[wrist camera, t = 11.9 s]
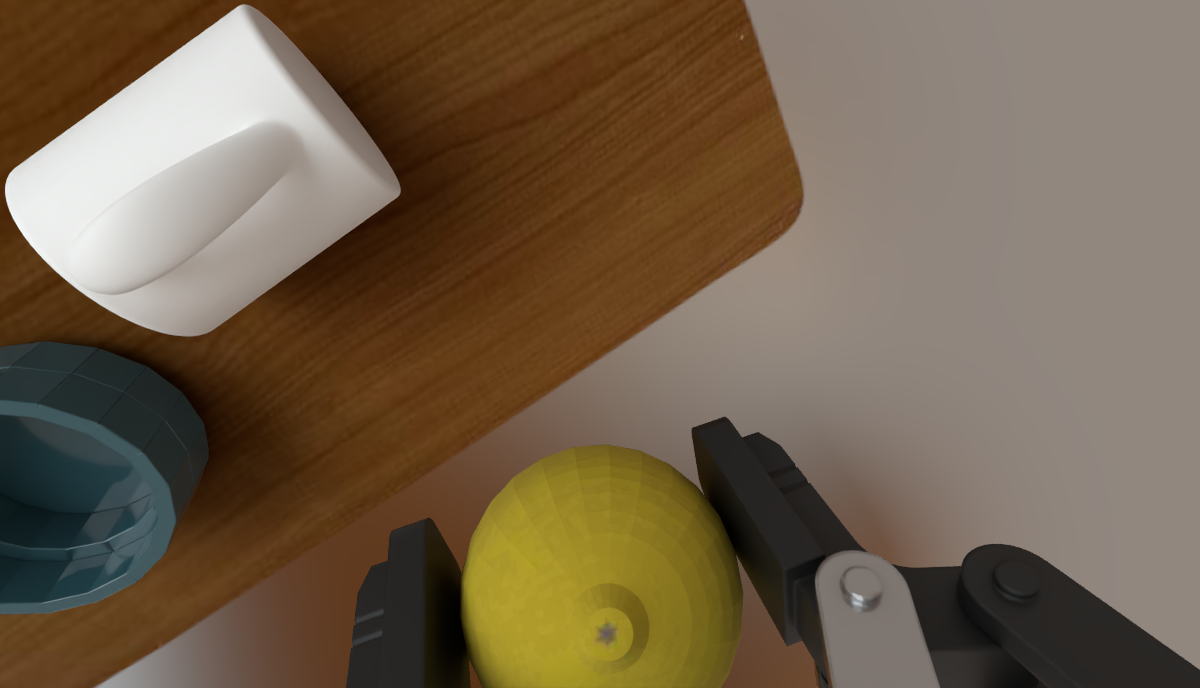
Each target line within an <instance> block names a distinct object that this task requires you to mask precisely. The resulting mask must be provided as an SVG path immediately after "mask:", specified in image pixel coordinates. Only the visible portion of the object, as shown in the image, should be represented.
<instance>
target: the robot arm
mask: <svg viewBox="0 0 1200 688" xmlns="http://www.w3.org/2000/svg"><path fill="white" fill-rule="evenodd" d="M692 438H693V444H694V451H695V457H696V464H697V469H698V476H699V481H700V484H701V487H702V490H703V493H704V495H705V497H706V499H707V500H708V501H709V503H710V504H711V505H712V506H713V508H714V509H715V510H716V512H717V513H718V514H719V516H720V518H721V520H722V522H723V525H724V527H725V529H726V532H727V534H728V536H729V538H730V541H731V543H732V545H733V548H734V550H735V552H736V555H737V557H738V559H739V560H740V562H741V564H742V566H743V567H744V569H745V571H746V573H747V575H748V577H749V578H750V580H751V582H752V584H753V586H754V588H755V589H756V591H757V593H758V595H759V596H760V598H761V600H762V602H763V604H764V606H765V607H766V609H767V611H768V613H769V615H770V616H771V618H772V620H773V622H774V624H775V625H776V627H777V629H778V631H779V632H780V635H781V636H782V638H783V640H784V642H785V644H786V645H787V646H789V645H792V644H794V643H797V642H800V641H802V640H803V642H804V644H805V646H806V647H807V649H808V651H809V652H810V654H811V656H812V658H813V659H814V666H815V676H816V682H817V688H1200V670H1199V669H1198V668H1196V667H1195V666H1194V665H1192V664H1191V663H1189V662H1188V661H1187V660H1185V659H1184V658H1182V657H1181V656H1179V655H1178V654H1177V653H1175V652H1174V651H1172V650H1171V649H1170V648H1168V647H1167V646H1165V645H1164V644H1162V643H1161V642H1160V641H1158V640H1157V639H1155V638H1154V637H1153V636H1151V635H1150V634H1148V633H1147V632H1146V631H1144V630H1143V629H1141V628H1140V627H1139V626H1137V625H1136V624H1134V623H1133V622H1131V621H1130V620H1129V619H1127V618H1126V617H1125V616H1123V615H1122V614H1120V613H1119V612H1117V611H1116V610H1115V609H1113V608H1112V607H1110V606H1109V605H1108V604H1106V603H1105V602H1103V601H1102V600H1100V599H1099V598H1098V597H1096V596H1095V595H1093V594H1092V593H1091V592H1089V591H1088V590H1086V589H1085V588H1084V587H1082V586H1081V585H1079V584H1078V583H1076V582H1075V581H1074V580H1072V579H1071V578H1069V577H1068V576H1067V575H1065V574H1064V573H1063V572H1061V571H1060V570H1058V569H1057V568H1055V567H1054V566H1052V565H1051V564H1050V563H1048V562H1047V561H1045V560H1044V559H1042V558H1041V557H1039V556H1037V555H1035V554H1033V553H1031V552H1029V551H1027V550H1024V549H1022V548H1019V547H1015V546H1011V545H1004V544H989V545H983V546H980V547H977V548H975V549H974V550H972V551H970V552H969V553H968V554H967V555H966V557H965V558H964V560H963V563H962V566H954V567H930V568H929V567H928V568H908V567H902V566H897V565H893V564H890V563H889V562H887V561H886V560H884V559H882V558H880V557H878V556H876V555H874V554H871V553H868V552H867V551H866V550H865V549H863V548H862V547H861V546H860V545H859V544H858V543H857V542H856V541H855V540H854V538H853V537H852V536H851V534H850V533H849V532H848V531H847V529H846V528H845V527H844V526H843V524H842V523H841V522H840V520H839V519H838V518H837V517H836V515H835V514H834V513H833V512H832V510H831V509H830V508H829V507H828V505H827V504H826V503H825V501H824V500H823V499H822V498H821V496H820V495H819V494H818V493H817V491H816V490H815V489H814V488H813V486H812V485H811V484H810V483H808V482H807V479H806V477H805V476H804V475H803V474H802V472H801V471H800V470H799V469H798V468H796V466H795V463H794V462H793V461H792V460H791V459H790V457H789V456H788V455H787V453H786V452H785V451H784V450H783V448H782V447H781V446H780V445H779V444H777V443H776V442H774V441H772V440H770V439H769V438H767V437H765V436H764V435H762V434H760V433H759V432H757V433H754V434H751V435H748V436H746V437H741V436H740V434H739V433H738V431H737V430H736V428H735V427H734V426H733V424H732V423H731V422H730V420H729V419H727V418H726V417H722V418H719V419H717V420H714V421H711V422H708V423H705V424H702V425H699V426H697V427H693V428H692ZM460 598H461V571H460V568H459V566H458V563H457V561H456V559H455V558H454V556H453V554H452V552H451V551H450V549H449V547H448V546H447V544H446V542H445V540H444V539H443V537H442V535H441V533H440V532H439V530H438V528H437V526H436V525H435V523H434V521H433V520H432V519H431V518H427V519H424V520H421V521H418V522H415V523H412V524H409V525H406V526H404V527H401V528H398V529H395V530H393V531H392V532H391V534H390V539H389V550H388V561H385V562H382V563H380V564H377V565H374V566H372V567H371V568H370V570H369V572H368V574H367V576H366V578H365V580H364V582H363V584H362V586H361V588H360V590H359V592H358V598H357V605H356V613H355V623H356V625H354V629H353V637H352V644H353V648H351V653H350V661H349V670H348V677H347V685H346V688H470V671H469V658H468V653H467V648H466V643H465V638H464V634H463V629H462V624H461V619H460Z"/></svg>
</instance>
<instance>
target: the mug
mask: <svg viewBox="0 0 1200 688" xmlns="http://www.w3.org/2000/svg"><path fill="white" fill-rule="evenodd" d="M400 192H401V189H400V184H399V182H398V179H397V177H396V175H395V174H394V172H393V170H392V168H391V167H390V165H389V163H388V162H387V160H386V159H385V157H384V156H383V154H382V153H381V151H380V150H379V148H378V147H377V145H376V144H375V143H374V141H373V140H372V138H371V137H370V136H369V134H368V133H367V131H366V130H365V129H364V127H363V126H362V125H361V123H360V122H359V121H358V119H357V118H356V117H355V116H354V114H353V113H352V112H351V110H350V109H349V108H348V107H347V105H346V104H345V103H344V102H343V100H342V99H341V98H340V97H339V95H338V94H337V93H336V92H335V91H334V89H333V88H332V87H331V86H330V84H329V83H328V82H327V81H326V80H325V79H324V77H323V76H322V75H321V74H320V73H319V72H318V70H317V69H316V68H315V67H314V66H313V65H312V63H311V62H310V61H309V60H308V59H307V58H306V57H305V56H304V54H303V53H302V52H301V51H300V50H299V49H298V48H297V47H296V46H295V45H294V44H293V43H292V42H291V40H290V39H289V38H288V37H287V36H286V35H285V34H284V33H283V32H282V31H281V30H280V29H279V28H278V27H277V26H276V25H275V24H274V23H272V22H271V21H270V20H269V19H268V18H267V17H266V16H265V15H263V14H262V13H261V12H259V11H258V10H257V9H255V8H253V7H251V6H249V5H240V6H238V7H237V8H236V9H234V10H233V11H231V12H230V13H229V14H227V15H226V16H224V17H223V18H222V19H220V20H219V21H218V22H216V23H215V24H213V25H212V26H211V27H209V28H208V29H207V30H205V31H204V32H202V33H201V34H200V35H198V36H197V37H195V38H194V39H193V40H191V41H190V42H189V43H187V44H186V45H184V46H183V47H182V48H180V49H179V50H177V51H176V52H175V53H173V54H172V55H171V56H169V57H168V58H166V59H165V60H164V61H162V62H161V63H160V64H158V65H157V66H155V67H154V68H153V69H151V70H150V71H148V72H147V73H146V74H144V75H143V76H142V77H140V78H139V79H137V80H136V81H135V82H133V83H132V84H131V85H129V86H128V87H126V88H125V89H124V90H122V91H121V92H119V93H118V94H117V95H115V96H114V97H113V98H111V99H110V100H108V101H107V102H106V103H104V104H103V105H102V106H100V107H99V108H97V109H96V110H95V111H93V112H92V113H90V114H89V115H88V116H86V117H85V118H84V119H82V120H81V121H79V122H78V123H77V124H75V125H74V126H72V127H71V128H70V129H68V130H67V131H66V132H64V133H63V134H61V135H60V136H59V137H57V138H56V139H55V140H53V141H52V142H50V143H49V144H48V145H46V146H45V147H43V148H42V149H41V150H39V151H38V152H37V153H35V154H34V155H32V156H31V157H30V158H28V159H27V160H26V161H24V162H23V163H21V164H20V165H19V166H17V167H16V168H14V169H13V171H12V172H11V173H10V174H9V176H8V178H7V181H6V186H5V194H6V200H7V204H8V207H9V210H10V212H11V215H12V217H13V219H14V221H15V222H16V224H17V226H18V228H19V229H20V231H21V232H22V234H23V235H24V237H25V238H26V239H27V241H28V242H29V243H30V245H31V246H32V247H33V248H34V249H35V250H36V252H37V253H38V254H39V255H40V256H41V257H42V258H43V259H44V260H45V261H46V262H47V263H48V264H49V265H50V266H51V267H52V268H53V269H54V270H55V271H56V272H57V273H58V274H60V275H61V276H62V277H63V278H64V279H65V280H66V281H68V282H69V283H70V284H71V285H73V286H74V287H75V288H77V289H78V290H79V291H81V292H82V293H83V294H85V295H86V296H88V297H89V298H91V299H92V300H94V301H95V302H97V303H98V304H100V305H101V306H103V307H105V308H106V309H108V310H110V311H112V312H113V313H115V314H117V315H119V316H121V317H123V318H125V319H127V320H129V321H131V322H133V323H136V324H138V325H140V326H143V327H146V328H148V329H151V330H155V331H158V332H162V333H166V334H170V335H176V336H198V335H202V334H206V333H208V332H210V331H212V330H214V329H215V328H216V327H218V326H219V325H221V324H222V323H223V322H225V321H226V320H228V319H229V318H230V317H232V316H233V315H234V314H236V313H237V312H239V311H240V310H241V309H243V308H244V307H246V306H247V305H248V304H250V303H251V302H253V301H254V300H255V299H257V298H258V297H259V296H261V295H262V294H264V293H265V292H266V291H268V290H269V289H271V288H272V287H273V286H275V285H276V284H278V283H279V282H280V281H282V280H283V279H284V278H286V277H287V276H289V275H290V274H291V273H293V272H294V271H296V270H297V269H298V268H300V267H301V266H303V265H304V264H305V263H307V262H308V261H309V260H311V259H312V258H314V257H315V256H316V255H318V254H319V253H321V252H322V251H323V250H325V249H326V248H328V247H329V246H330V245H332V244H333V243H334V242H336V241H337V240H339V239H340V238H341V237H343V236H344V235H346V234H347V233H348V232H350V231H351V230H353V229H354V228H355V227H357V226H358V225H359V224H361V223H362V222H364V221H365V220H366V219H368V218H369V217H371V216H372V215H373V214H375V213H376V212H378V211H379V210H380V209H382V208H383V207H384V206H386V205H387V204H389V203H390V202H391V201H393V200H394V199H396V198H397V197H398V196H399V195H400Z"/></svg>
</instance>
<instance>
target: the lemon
mask: <svg viewBox="0 0 1200 688" xmlns="http://www.w3.org/2000/svg"><path fill="white" fill-rule="evenodd" d="M742 606H743V590H742V584H741V579H740V574H739V568H738V563H737V558H736V552H735V550H734V548H733V545H732V543H731V541H730V538H729V536H728V534H727V532H726V529H725V527H724V525H723V522H722V520H721V518H720V516H719V514H718V513H717V512H716V510H715V509H714V508H713V506H712V505H711V504H710V503H709V501H708V500H707V499H706V497H705V496H704V495H703V493H702V492H701V491H700V490H699V488H698V487H697V486H696V485H695V484H694V483H692V482H691V481H690V480H689V479H687V478H686V477H685V476H683V475H682V474H681V473H680V472H678V471H677V470H676V469H675V468H673V467H672V466H671V465H670V464H668V463H666V462H663V461H661V460H659V459H657V458H655V457H653V456H650V455H648V454H646V453H644V452H641V451H639V450H634V449H629V448H623V447H617V446H612V445H594V446H582V447H573V448H570V449H567V450H564V451H562V452H559V453H556V454H553V455H550V456H547V457H544V458H542V459H540V460H539V461H537V462H536V463H534V464H533V465H531V466H530V467H528V468H527V469H525V470H524V471H522V472H521V473H519V474H518V475H516V476H515V477H514V478H513V479H512V480H511V481H510V482H509V483H508V484H507V485H506V486H505V487H504V489H503V490H502V491H501V492H500V493H499V494H498V495H497V496H496V497H495V498H494V499H493V500H492V502H491V503H490V505H489V507H488V508H487V510H486V512H485V514H484V515H483V517H482V519H481V521H480V523H479V525H478V526H477V528H476V530H475V532H474V533H473V535H472V538H471V541H470V545H469V548H468V552H467V556H466V559H465V563H464V566H463V570H462V574H461V598H460V619H461V624H462V629H463V634H464V638H465V643H466V648H467V653H468V658H469V659H470V662H471V664H472V666H473V668H474V670H475V672H476V674H477V676H478V679H479V681H480V683H481V685H482V687H483V688H721V686H722V685H723V683H724V681H725V679H726V678H727V676H728V674H729V672H730V670H731V666H732V663H733V660H734V656H735V652H736V649H737V646H738V642H739V639H740V636H741V627H742Z"/></svg>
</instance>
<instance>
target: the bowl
mask: <svg viewBox="0 0 1200 688" xmlns="http://www.w3.org/2000/svg"><path fill="white" fill-rule="evenodd" d="M208 458H209V450H208V444H207V438H206V432H205V426H204V424H203V422H202V420H201V419H200V417H199V416H198V414H197V413H196V411H195V410H194V408H193V407H192V405H191V404H190V402H189V401H188V400H187V398H186V397H185V395H184V394H183V392H182V391H180V390H179V389H177V388H176V387H175V386H173V385H172V384H171V383H169V382H168V381H167V380H165V379H164V378H163V377H161V376H160V375H158V374H157V373H156V372H154V371H153V370H152V369H150V368H149V367H146V366H144V365H142V364H139V363H137V362H134V361H131V360H129V359H126V358H124V357H121V356H118V355H116V354H113V353H111V352H108V351H105V350H103V349H99V348H96V347H88V346H80V345H72V344H64V343H56V342H48V341H45V342H36V343H28V344H20V345H12V346H5V347H0V614H38V613H51V612H56V611H60V610H64V609H69V608H73V607H78V606H82V605H86V604H91V603H95V602H97V601H100V600H102V599H104V598H106V597H108V596H110V595H112V594H114V593H116V592H118V591H120V590H122V589H124V588H126V587H128V586H130V585H132V584H134V583H136V582H137V581H138V580H140V579H141V578H142V577H143V576H144V575H145V574H146V573H147V572H148V571H149V570H150V569H151V568H152V567H153V566H154V565H155V564H156V563H157V562H158V561H159V559H160V558H161V557H162V556H163V555H164V554H165V553H166V552H167V550H168V548H169V546H170V544H171V542H172V540H173V538H174V535H175V533H176V531H177V529H178V527H179V525H180V523H181V521H182V519H183V517H184V515H185V513H186V511H187V509H188V507H189V505H190V503H191V501H192V499H193V496H194V494H195V492H196V490H197V488H198V486H199V484H200V482H201V479H202V476H203V473H204V470H205V467H206V464H207V461H208Z"/></svg>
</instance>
